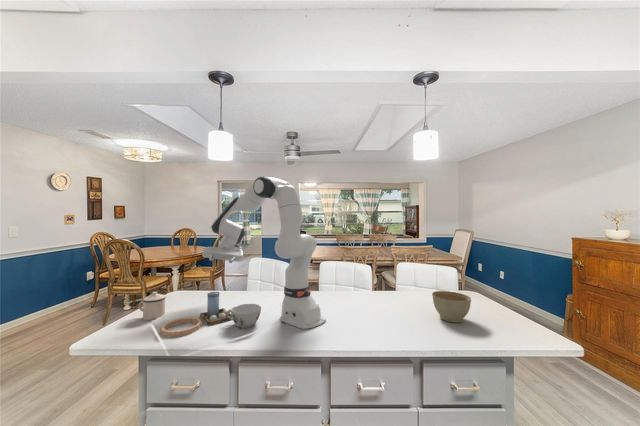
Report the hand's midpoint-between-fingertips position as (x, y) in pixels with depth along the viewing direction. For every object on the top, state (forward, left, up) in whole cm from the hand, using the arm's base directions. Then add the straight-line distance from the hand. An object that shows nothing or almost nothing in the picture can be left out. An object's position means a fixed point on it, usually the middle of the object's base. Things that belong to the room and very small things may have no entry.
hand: (220, 260), depth 126 cm
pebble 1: (-14, +8, -24) cm, 29 cm away
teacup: (-25, -1, -25) cm, 36 cm away
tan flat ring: (-12, +20, -25) cm, 35 cm away
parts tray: (-10, +5, -25) cm, 28 cm away
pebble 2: (-14, +4, -24) cm, 29 cm away
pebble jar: (-8, +6, -24) cm, 27 cm away
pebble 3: (-12, +2, -24) cm, 27 cm away
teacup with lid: (+14, +27, -25) cm, 40 cm away
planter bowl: (-82, -77, -25) cm, 115 cm away
